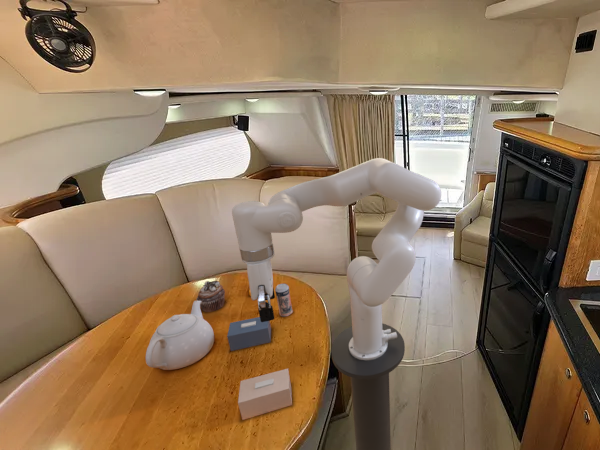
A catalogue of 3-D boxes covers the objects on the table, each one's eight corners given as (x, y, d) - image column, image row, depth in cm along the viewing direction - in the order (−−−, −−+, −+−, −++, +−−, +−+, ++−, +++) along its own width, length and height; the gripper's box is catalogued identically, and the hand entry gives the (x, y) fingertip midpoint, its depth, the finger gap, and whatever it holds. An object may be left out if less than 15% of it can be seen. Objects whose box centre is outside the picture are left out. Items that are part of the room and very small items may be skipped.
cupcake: (203, 300, 126) (197, 279, 123) (229, 297, 129) (224, 276, 125) (195, 315, 118) (189, 292, 114) (224, 310, 120) (218, 288, 116)
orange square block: (249, 296, 129) (247, 287, 127) (251, 286, 136) (249, 278, 135) (270, 292, 131) (268, 284, 130) (271, 283, 138) (269, 274, 137)
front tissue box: (242, 420, 79) (237, 401, 76) (244, 397, 85) (240, 379, 82) (292, 405, 82) (288, 386, 80) (291, 384, 89) (287, 366, 86)
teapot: (144, 352, 100) (130, 317, 95) (208, 325, 112) (198, 293, 107) (155, 387, 88) (140, 349, 83) (225, 352, 100) (216, 317, 95)
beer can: (282, 319, 115) (277, 291, 111) (277, 312, 119) (272, 285, 114) (294, 313, 118) (290, 286, 114) (290, 307, 122) (285, 281, 117)
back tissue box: (230, 351, 100) (226, 335, 98) (233, 337, 107) (229, 321, 104) (270, 342, 104) (267, 326, 102) (271, 329, 110) (268, 313, 108)
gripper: (244, 240, 83) (255, 294, 89) (236, 270, 68) (250, 333, 74) (274, 236, 86) (283, 289, 92) (273, 264, 70) (283, 326, 77)
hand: (268, 309), depth 83 cm, fingers open, 9 cm apart
